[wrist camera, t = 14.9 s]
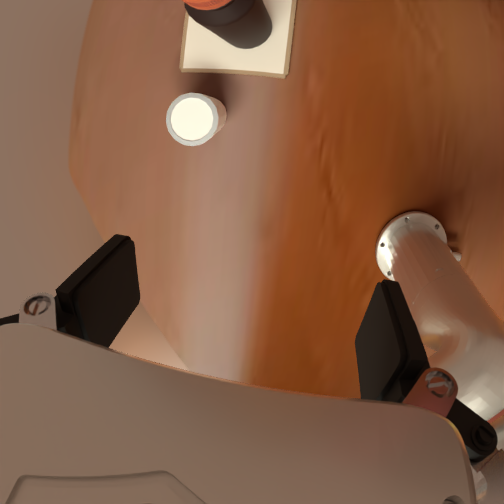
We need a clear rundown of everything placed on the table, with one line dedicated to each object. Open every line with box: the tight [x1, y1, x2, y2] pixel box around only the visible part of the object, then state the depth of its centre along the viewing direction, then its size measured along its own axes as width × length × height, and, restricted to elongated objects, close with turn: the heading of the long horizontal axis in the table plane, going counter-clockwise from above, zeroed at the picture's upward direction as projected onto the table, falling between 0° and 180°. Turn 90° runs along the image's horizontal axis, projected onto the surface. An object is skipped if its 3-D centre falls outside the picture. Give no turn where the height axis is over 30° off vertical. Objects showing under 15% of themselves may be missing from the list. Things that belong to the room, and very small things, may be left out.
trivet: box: [179, 0, 297, 79], centre depth 33 cm, size 15×15×1 cm
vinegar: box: [182, 0, 272, 49], centre depth 24 cm, size 7×7×20 cm
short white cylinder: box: [166, 93, 227, 146], centre depth 38 cm, size 7×7×7 cm
